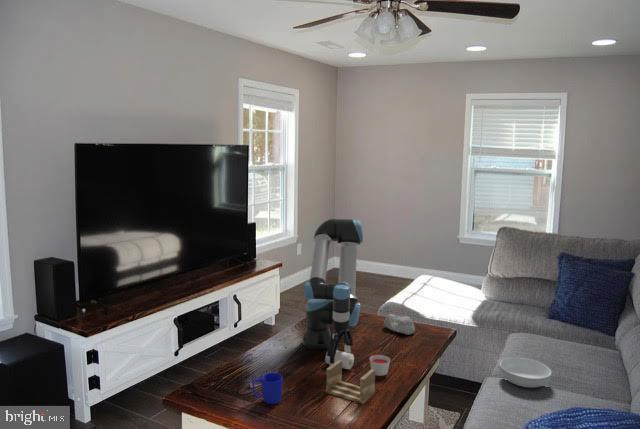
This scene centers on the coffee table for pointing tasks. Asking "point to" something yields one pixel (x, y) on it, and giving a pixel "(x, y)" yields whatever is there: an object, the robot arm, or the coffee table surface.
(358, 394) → the oak roll cradle
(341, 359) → the paper roll
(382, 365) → the candle
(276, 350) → the coffee table surface
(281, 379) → the mug
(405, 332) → the decorative stone
